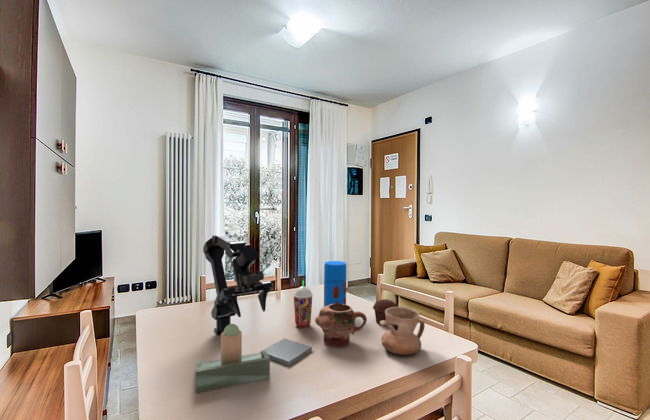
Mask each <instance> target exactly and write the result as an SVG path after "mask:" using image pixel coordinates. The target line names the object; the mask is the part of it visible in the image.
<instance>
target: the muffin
mask: <svg viewBox="0 0 650 420" xmlns="http://www.w3.org/2000/svg"><path fill="white" fill-rule="evenodd" d="M391 307H399V306H398V305H397V304H396V302H394V300H391V299H386V298H385V299H384V298H383V299H379V300H377V301H376V302H375V303H374V304H373V307H372V309H373V310H374V315H375V316H374V317H375V323H376V324H377V325H380V326H382V325H381V324H380V321H383V320H385V321H386V316H385V310H386V309H388V308H391ZM384 327H388V326H387V325H384Z"/></svg>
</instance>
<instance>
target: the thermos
mask: <svg viewBox="0 0 650 420" xmlns="http://www.w3.org/2000/svg"><path fill="white" fill-rule="evenodd" d="M323 270H324V271H323V274H324V275H323V307H325V306H328V305H330V304H335V303H340V304H345V305H347V263H346V262H345V261H340V260H330V261H325V262H324V266H323Z"/></svg>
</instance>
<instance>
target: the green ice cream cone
mask: <svg viewBox="0 0 650 420" xmlns="http://www.w3.org/2000/svg"><path fill="white" fill-rule="evenodd" d="M242 338H243V333H242V331H241V330H240V328H239V326H238V325H237V324H235V323H231V324H229V325H227V326H226V327H225V329H224V332H222V333H221V334H220V359H221V365H225V364H231V363H236V362H242V356H243V353H242V352H243V351H242V349H243V340H242Z"/></svg>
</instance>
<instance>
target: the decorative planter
mask: <svg viewBox="0 0 650 420" xmlns="http://www.w3.org/2000/svg"><path fill="white" fill-rule="evenodd" d="M357 318H361V319H362V321H363V322H362V323H361V324H360V325H359V326H356V325H355V323H356V319H357ZM367 319H368V318H367V316H366V314H365V313H364V312H362V311H354V310H353V308H352V307H351V306H350V305H348V304H346V305H345V304H340V303H335V304H330V305H328V306H325V307H324V306H322V308H320V310H319V312H318V315H316V316H315V320H314V321H315V324H316V325H317V326H319V327H320V328H321V331H322V332H323V342H324V344H326V346H328V347H331V348H344V347H347V346H348V345H349V342H350V338H351V335H354V334H356V333H358V332H359V331H361V330H362V329H363V328H364V327H365V325H366V323H367Z"/></svg>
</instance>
